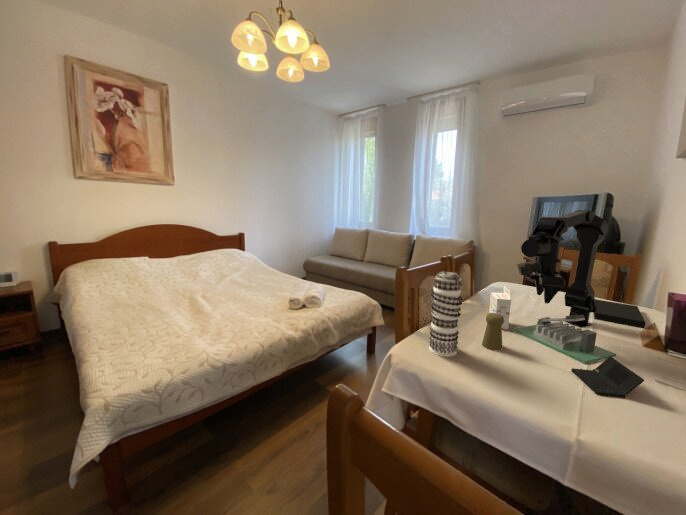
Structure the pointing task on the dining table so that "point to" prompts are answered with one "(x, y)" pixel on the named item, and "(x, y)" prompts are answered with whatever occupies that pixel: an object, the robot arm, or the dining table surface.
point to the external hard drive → (619, 314)
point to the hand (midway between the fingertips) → (542, 299)
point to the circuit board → (571, 352)
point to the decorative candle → (445, 314)
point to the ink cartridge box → (501, 305)
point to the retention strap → (568, 318)
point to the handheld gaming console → (609, 379)
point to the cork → (493, 332)
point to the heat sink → (565, 336)
